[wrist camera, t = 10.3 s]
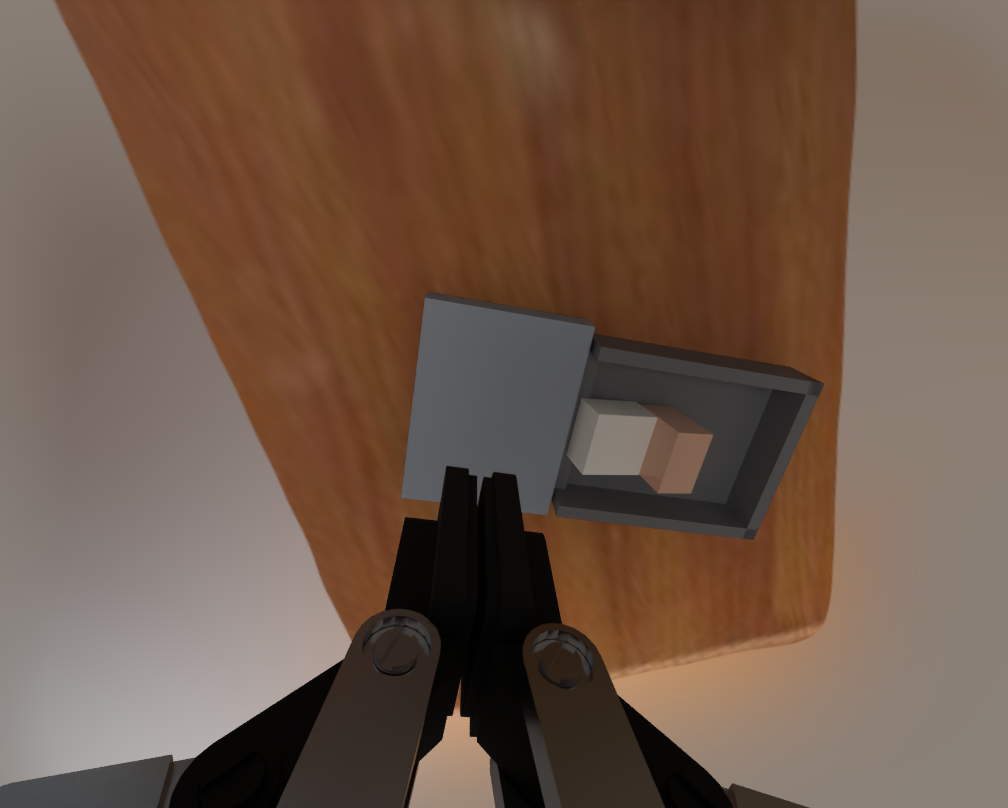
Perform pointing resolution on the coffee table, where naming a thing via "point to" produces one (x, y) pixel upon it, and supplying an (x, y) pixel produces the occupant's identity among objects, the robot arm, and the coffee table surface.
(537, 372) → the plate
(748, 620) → the coffee table surface
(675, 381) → the box
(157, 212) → the coffee table surface
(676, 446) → the tile
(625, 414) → the tile
